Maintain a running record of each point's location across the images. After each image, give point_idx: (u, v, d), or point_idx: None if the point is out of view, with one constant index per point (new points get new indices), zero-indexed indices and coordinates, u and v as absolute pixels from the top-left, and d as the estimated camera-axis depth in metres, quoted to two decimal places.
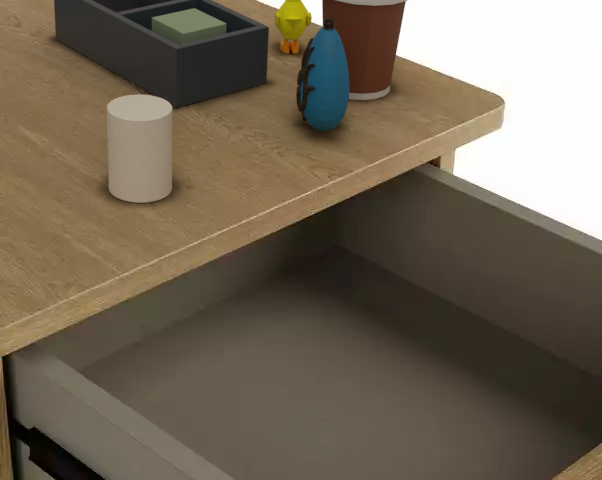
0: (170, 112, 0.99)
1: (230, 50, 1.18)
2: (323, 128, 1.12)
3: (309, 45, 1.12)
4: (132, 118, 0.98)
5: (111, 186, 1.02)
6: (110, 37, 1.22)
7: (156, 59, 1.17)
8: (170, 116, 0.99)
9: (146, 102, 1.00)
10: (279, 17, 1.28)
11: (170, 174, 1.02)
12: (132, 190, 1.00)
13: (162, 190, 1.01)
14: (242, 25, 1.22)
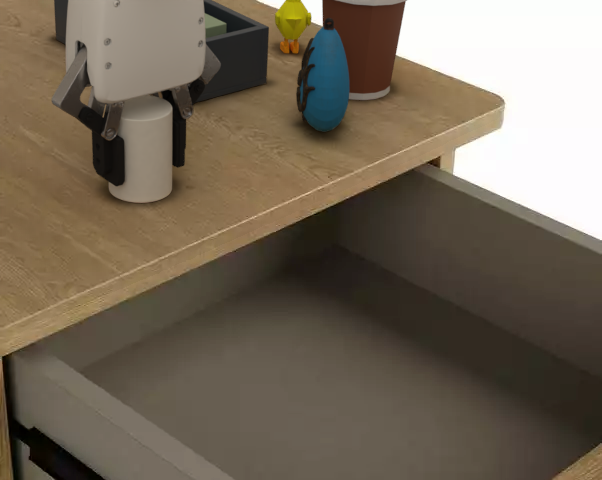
0: (170, 112, 0.99)
1: (230, 50, 1.18)
2: (323, 128, 1.12)
3: (309, 45, 1.12)
4: (132, 118, 0.98)
5: (111, 186, 1.02)
6: None
7: None
8: (170, 116, 0.99)
9: (146, 102, 1.00)
10: (279, 17, 1.28)
11: (170, 174, 1.02)
12: (132, 190, 1.00)
13: (162, 190, 1.01)
14: (242, 25, 1.22)
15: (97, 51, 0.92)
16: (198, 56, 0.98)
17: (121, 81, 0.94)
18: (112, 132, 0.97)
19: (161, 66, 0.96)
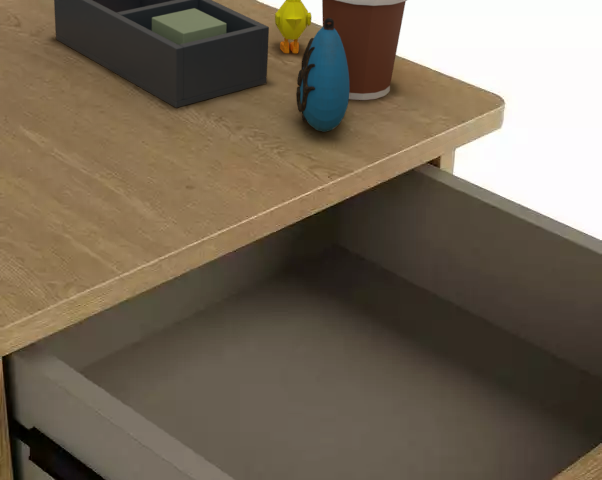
0: None
1: (230, 50, 1.18)
2: (323, 128, 1.12)
3: (309, 45, 1.12)
4: None
5: None
6: (110, 37, 1.22)
7: (156, 59, 1.17)
8: None
9: None
10: (279, 17, 1.28)
11: None
12: None
13: None
14: (242, 25, 1.22)
15: None
16: None
17: None
18: None
19: None
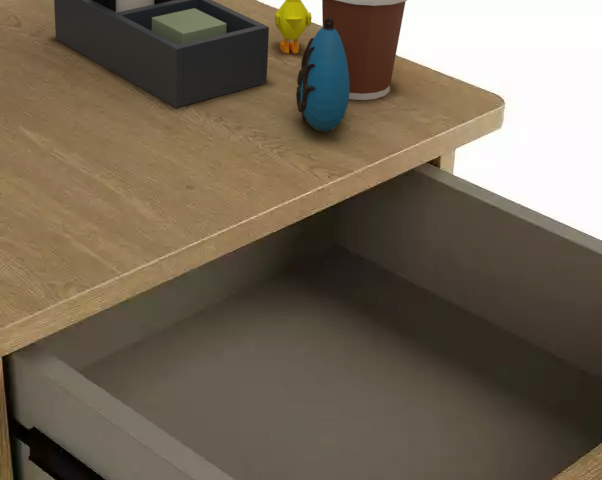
0: None
1: (230, 50, 1.18)
2: (323, 128, 1.12)
3: (309, 45, 1.12)
4: None
5: None
6: (110, 37, 1.22)
7: (156, 59, 1.17)
8: None
9: None
10: (279, 17, 1.28)
11: None
12: None
13: None
14: (242, 25, 1.22)
15: None
16: None
17: None
18: None
19: None
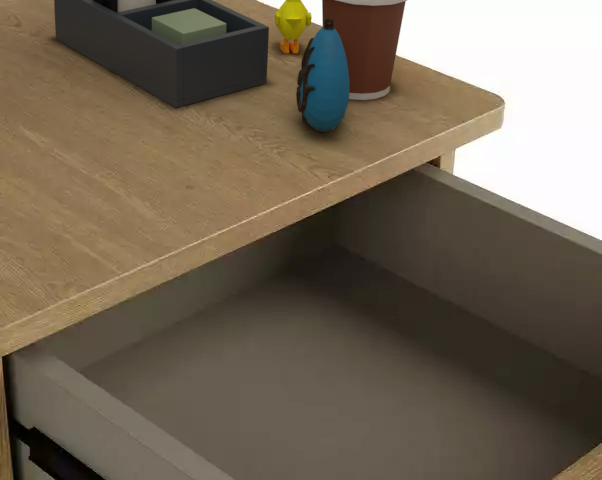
0: None
1: (230, 50, 1.18)
2: (323, 128, 1.12)
3: (309, 45, 1.12)
4: None
5: None
6: (110, 37, 1.22)
7: (156, 59, 1.17)
8: None
9: None
10: (279, 17, 1.28)
11: None
12: None
13: None
14: (242, 25, 1.22)
15: None
16: None
17: None
18: None
19: None
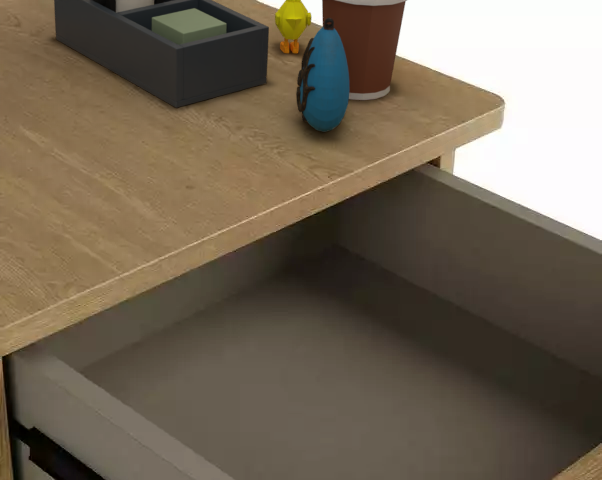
0: None
1: (230, 50, 1.18)
2: (323, 128, 1.12)
3: (309, 45, 1.12)
4: None
5: None
6: (110, 37, 1.22)
7: (156, 59, 1.17)
8: None
9: None
10: (279, 17, 1.28)
11: None
12: None
13: None
14: (242, 25, 1.22)
15: None
16: None
17: None
18: None
19: None
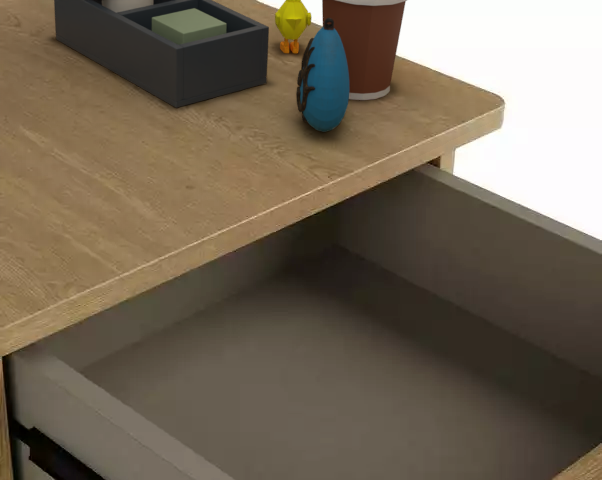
0: None
1: (230, 50, 1.18)
2: (323, 128, 1.12)
3: (309, 45, 1.12)
4: None
5: None
6: (110, 37, 1.22)
7: (156, 59, 1.17)
8: None
9: None
10: (279, 17, 1.28)
11: None
12: None
13: None
14: (242, 25, 1.22)
15: None
16: None
17: None
18: None
19: None
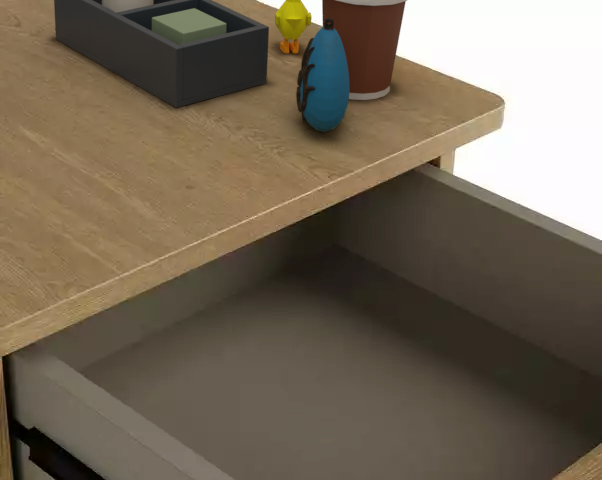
0: None
1: (230, 50, 1.18)
2: (323, 128, 1.12)
3: (309, 45, 1.12)
4: None
5: None
6: (110, 37, 1.22)
7: (156, 59, 1.17)
8: None
9: None
10: (279, 17, 1.28)
11: None
12: None
13: None
14: (242, 25, 1.22)
15: None
16: None
17: None
18: None
19: None
